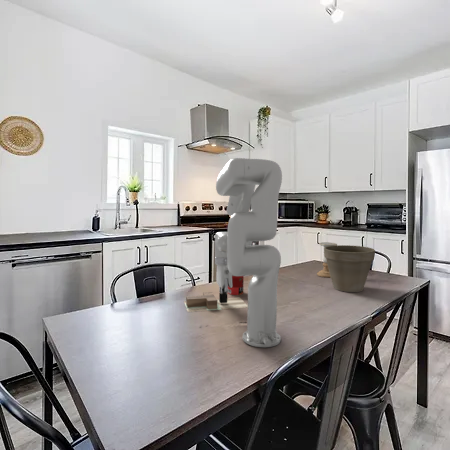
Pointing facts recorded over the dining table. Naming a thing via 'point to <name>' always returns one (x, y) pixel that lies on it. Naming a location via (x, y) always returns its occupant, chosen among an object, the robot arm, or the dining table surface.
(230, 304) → the board
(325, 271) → the candle holder
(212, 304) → the t block
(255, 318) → the robot arm
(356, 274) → the plant pot
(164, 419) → the dining table surface
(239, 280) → the canned food
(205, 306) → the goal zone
